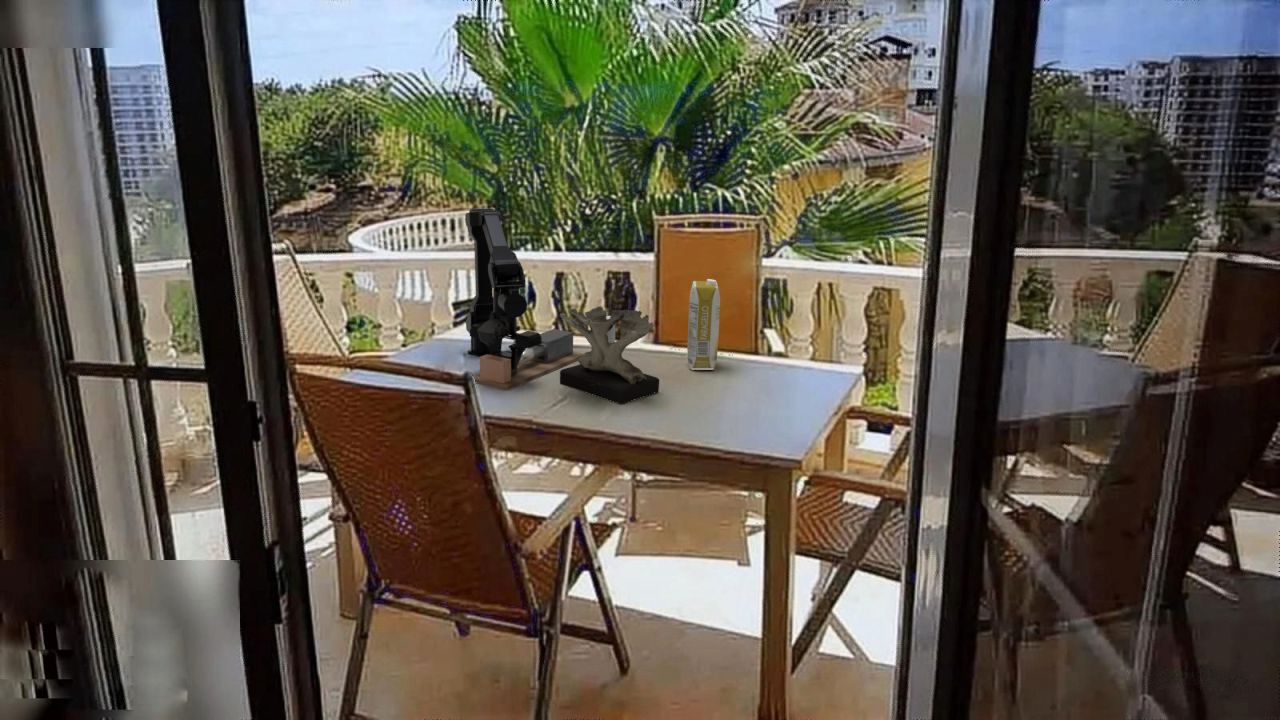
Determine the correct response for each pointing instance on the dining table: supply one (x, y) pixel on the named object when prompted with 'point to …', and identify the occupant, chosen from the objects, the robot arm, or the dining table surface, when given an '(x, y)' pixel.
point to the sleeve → (555, 345)
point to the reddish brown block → (495, 368)
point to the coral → (609, 356)
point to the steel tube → (524, 355)
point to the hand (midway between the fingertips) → (505, 367)
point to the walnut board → (529, 372)
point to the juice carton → (703, 324)
